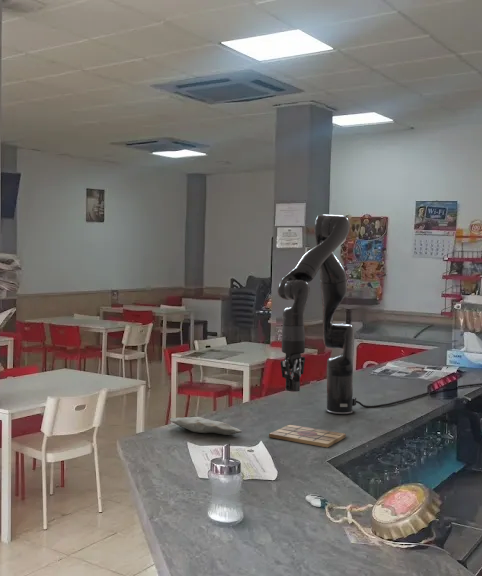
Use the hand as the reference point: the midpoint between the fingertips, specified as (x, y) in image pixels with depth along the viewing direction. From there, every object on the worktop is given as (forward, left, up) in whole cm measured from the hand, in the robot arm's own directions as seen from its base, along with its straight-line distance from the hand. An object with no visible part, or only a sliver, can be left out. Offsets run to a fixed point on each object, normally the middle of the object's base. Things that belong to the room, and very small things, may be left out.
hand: (292, 388), depth 242 cm
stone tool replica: (+19, -22, -15) cm, 33 cm away
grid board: (+4, +7, -15) cm, 17 cm away
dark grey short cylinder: (0, 0, -1) cm, 1 cm away
